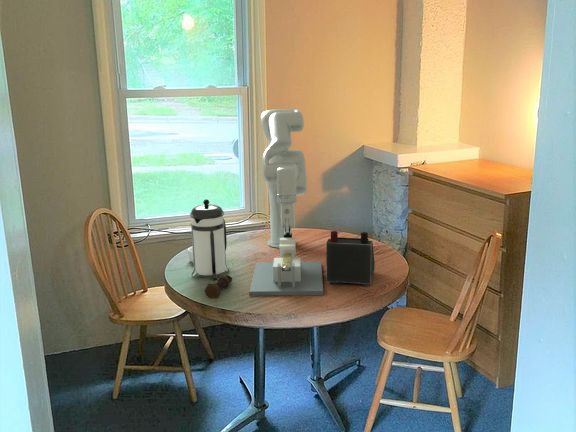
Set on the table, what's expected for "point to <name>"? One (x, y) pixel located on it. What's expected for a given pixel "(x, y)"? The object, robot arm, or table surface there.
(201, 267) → the coffee press
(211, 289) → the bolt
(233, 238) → the table surface
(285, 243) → the block
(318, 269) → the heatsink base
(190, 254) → the teacup
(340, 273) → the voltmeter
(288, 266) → the wooden building block
